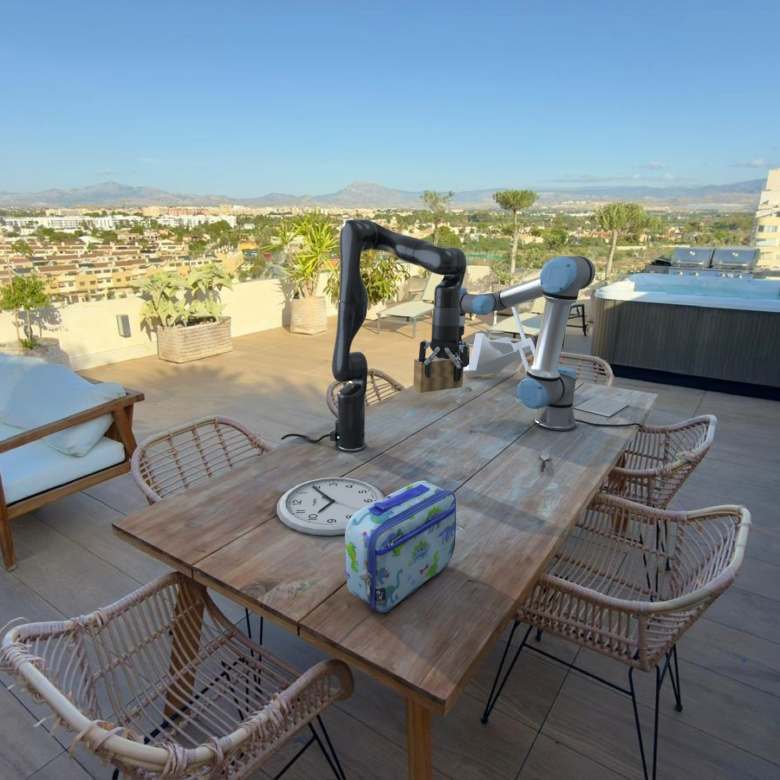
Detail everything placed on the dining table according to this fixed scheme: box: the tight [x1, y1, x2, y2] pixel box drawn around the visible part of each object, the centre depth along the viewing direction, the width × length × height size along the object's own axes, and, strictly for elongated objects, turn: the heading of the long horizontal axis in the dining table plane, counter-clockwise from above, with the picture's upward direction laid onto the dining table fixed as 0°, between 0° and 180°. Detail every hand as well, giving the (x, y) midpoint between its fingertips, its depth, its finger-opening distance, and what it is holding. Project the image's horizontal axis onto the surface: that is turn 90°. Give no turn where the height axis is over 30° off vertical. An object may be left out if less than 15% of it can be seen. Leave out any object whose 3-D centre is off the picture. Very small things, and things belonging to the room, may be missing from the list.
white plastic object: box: [463, 306, 536, 377], centre depth 260 cm, size 37×45×31 cm
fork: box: [540, 448, 551, 473], centre depth 170 cm, size 3×16×2 cm, turn 160°
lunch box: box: [344, 480, 457, 614], centre depth 109 cm, size 26×11×21 cm, turn 135°
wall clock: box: [276, 476, 386, 537], centre depth 142 cm, size 30×2×30 cm
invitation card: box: [573, 396, 629, 418], centre depth 226 cm, size 21×1×15 cm
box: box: [412, 357, 464, 394], centre depth 218 cm, size 20×6×13 cm, turn 116°
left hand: (442, 378), depth 149 cm, fingers open, 8 cm apart
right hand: (452, 378), depth 222 cm, fingers closed on box, 6 cm apart
